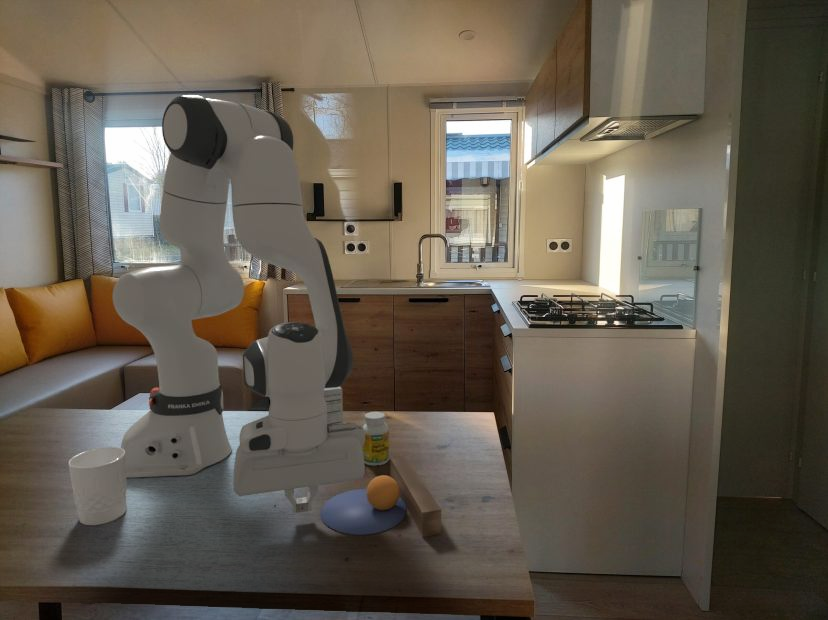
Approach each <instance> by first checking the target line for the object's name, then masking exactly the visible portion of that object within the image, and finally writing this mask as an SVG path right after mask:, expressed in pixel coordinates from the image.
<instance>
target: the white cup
mask: <svg viewBox="0 0 828 620" xmlns="http://www.w3.org/2000/svg"><path fill="white" fill-rule="evenodd" d="M67 463H68V469H69V475H70V480H71V481H70V482H71V487H72V493H73V498H74V503H75V506H76V510H77V515H78V520H79V523H80V524H82V525H85V526H98V525H105V524H107V523H111V522H113V521H115V520H117V519H119V518H120V517H122V516H123V515H124V514H125V513H126V511H127V510H128V509H127V490H128V489H127V478H126V457H125V450H124V449H122V448H121V447H117V446H105V447H97V448H93V449H89V450H86V451H83V452H80V453H78V454H76V455H74V456H72V457H71V458H70V459H69V460H68V462H67Z"/></svg>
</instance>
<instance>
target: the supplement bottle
mask: <svg viewBox="0 0 828 620" xmlns="http://www.w3.org/2000/svg"><path fill="white" fill-rule="evenodd" d="M364 422H365V423H364V424H363V426H362V427H363V429H364V431H365V443H364V445H363V446H362V447H361V448H362V452H363V457H364V465H368V466H371V467H377V465H379V466H383V465H385V464H387V463H388V461H390V432H389V431H390V429H389V425H388V424H387V423H386V414H385V413H384V412H381V411H370V412H367V413H365V415H364Z"/></svg>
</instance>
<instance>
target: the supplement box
mask: <svg viewBox="0 0 828 620" xmlns="http://www.w3.org/2000/svg"><path fill="white" fill-rule="evenodd" d="M324 398H325V401H326V404H327V424H328V425H330V424H344V415H343V414H344V409H343V408H344V407H343V387H342V386H339V387H336V388H324Z"/></svg>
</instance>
